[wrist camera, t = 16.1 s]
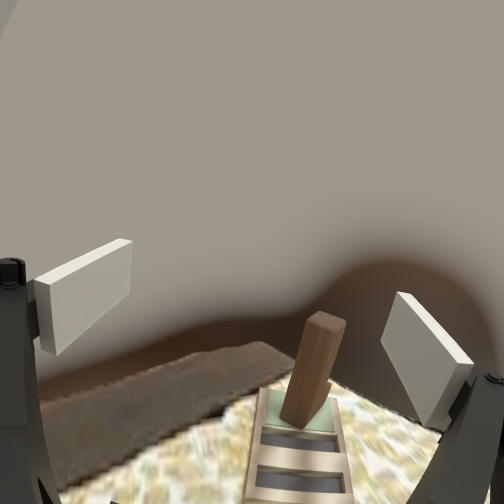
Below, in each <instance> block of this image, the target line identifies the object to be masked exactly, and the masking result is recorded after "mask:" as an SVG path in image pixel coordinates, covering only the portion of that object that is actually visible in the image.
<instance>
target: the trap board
mask: <svg viewBox="0 0 504 504" xmlns="http://www.w3.org/2000/svg"><path fill="white" fill-rule="evenodd" d="M285 395H286V392H285V391H279V390H273V389H267V388H261V387H260V391H259V395H258V402H257V409H256V417H255V424H254V431H253V438H252V445H251V452H250V459H249V466H248V473H247V479H246V486H245V492H244V499H243V504H355V503H354V496H353V490H352V483H351V477H350V470H349V464H348V458H347V452H346V447H345V441H344V435H343V430H342V424H341V419H340V413H339V408H338V403H337V398H330V397H327V399H326V401H325V403H324V404H323V406H322V407H321V408H320V409H319V411H318V412H317V413H316V414H315V415H314V417H313V418H312V419H311V420H310V421H309V423H308V424H307V425H306V426H305V427H304V428H303V429H300V428H298V427H296V426H294V425H292V424H290V423H288V422H286V421H284V420H282V419H280V418H279V415H280V412H281V409H282V405H283V402H284V399H285Z"/></svg>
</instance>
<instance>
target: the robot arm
mask: <svg viewBox="0 0 504 504" xmlns="http://www.w3.org/2000/svg"><path fill="white" fill-rule="evenodd" d="M17 1H18V0H0V42H1V39H2V37H3V34H4V32H5V29H6V27H7V23H8V22H9V20H10V17H11V15H12V13H13V10H14V8H15V6H16V4H17ZM132 246H133V241H129V240H125V239H117V240H115V241H113V242H111V243H108V244H107V245H104V246H102V247H100V248H97V249H95V250H93V251H91V252H89V253H87V254H85V255H82V256H80V257H78V258H76V259H74V260H72V261H70V262H68V263H66V264H64V265H62V266H60V267H57V268H55V269H53V270H51V271H49V272H47V273H45V274H43V275H41V276H39V277H37V278H35V279H33V280H31V281H29V282H27V283H26V271H25V262H24V261H23V260H21V259H18V258H3V259H0V504H62V503H61V501H60V498H59V495H58V492H57V488H56V485H55V481H54V477H53V473H52V469H51V465H50V461H49V456H48V452H47V447H46V442H45V436H44V431H43V425H42V419H41V412H40V405H39V397H38V388H37V378H36V367H35V352H34V351H35V350H34V344H33V340H34V339H35V338H36V337H38V336H39V337H40V343H41V349H42V350H44V351H46V352H49V353H51V354H53V355H55V356H58V355H59V354H60V353H61V352H62V351H63V350H64V349H65V348H67V346H69V345H70V344H71V343H72V342H73V341H74V340H76V338H78V337H79V336H80V335H81V334H82V333H84V332H85V331H86V330H87V329H88V328H89V327H90V326H91V325H93V324H94V323H95V322H96V321H97V320H98V319H100V318H101V317H102V316H103V315H104V314H105V313H107V312H108V311H109V310H110V309H111V308H112V307H114V306H115V305H116V304H117V303H118V302H120V300H122V299H123V298H124V297H125V296H127V295H128V294H129V293H130V277H131V261H132ZM381 343H382V345H383V347H384V348H385V350H386V352H387V354H388V356H389V358H390V360H391V361H392V364H393V366H394V368H395V370H396V372H397V373H398V375H399V377H400V379H401V381H402V383H403V385H404V387H405V389H406V391H407V393H408V395H409V397H410V400H411V402H412V404H413V406H414V408H415V410H416V412H417V414H418V416H419V418H420V420H421V422H422V425H423V427H438V426H441V424H442V423H443V421H444V419H445V418H446V416H447V414H449V416H450V418H451V419H452V421H451V422H450V424H449V426H448V427H447V429H446V430H445V432H444V433H443V435H442V436H441V438H440V439H439V441H438V442H437V443H439V446H438V448H437V450H436V452H435V454H434V456H433V458H432V460H431V461H430V463H429V465H428V467H427V469H426V471H425V472H424V474H423V476H422V478H421V480H420V481H419V483H418V485H417V486H416V488H415V490H414V491H413V493H412V495H411V496H410V498H409V500H408V501H407V503H406V504H484V502H485V499H486V496H487V493H488V489H489V486H490V504H504V378H503V377H502V376H501V375H500V374H498V373H497V372H494V371H491V370H486V369H483V370H480V369H479V368H478V367H477V365H476V364H475V363H474V362H473V361H472V360H471V358H469V356H468V355H467V354H466V353H465V351H464V350H463V349H462V348H461V347H460V346H459V345H458V344H456V342H455V341H454V340H453V339H452V338H451V337H450V336H449V335H448V334H447V332H446V331H445V330H444V329H443V328H442V327H441V326H440V325H439V324H438V323H437V322H436V321H435V319H433V317H432V316H431V315H430V314H429V313H428V312H427V311H426V310H425V309H424V308H423V307H422V306H421V305H420V304H419V303H418V301H417V300H416V299H415V298H414V297H413V296H412V295H411V294H407V293H402V292H397V294H396V297H395V300H394V303H393V306H392V310H391V312H390V315H389V318H388V321H387V324H386V327H385V330H384V333H383V336H382V338H381ZM110 504H118V503H116V502H113V501H111V502H110Z"/></svg>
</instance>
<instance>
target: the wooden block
mask: <svg viewBox="0 0 504 504" xmlns="http://www.w3.org/2000/svg"><path fill="white" fill-rule="evenodd" d="M345 326H346V321H345V320H343V319H340V318H338V317H335V316H332V315H330V314H327V313H324V312H321V311H318V312H317V313H315V314H314V315H313V316H311V317H310V318H308V319H307V321H306V325H305V328H304V332H303V336H302V340H301V343H300V347H299V351H298V355H297V358H296V361H295V365H294V368H293V372H292V375H291V379H290V382H289V385H288V389H287V392H286V395H285V399H284V402H283V405H282V409H281V412H280V415H279V418H280V419H282V420H284V421H286V422H288V423H290V424H292V425H294V426H296V427H298V428H300V429H303V428H304V427H305V426H306V425H307V424H308V423H309V421H310V420H311V419H312V418H313V417H314V415H315V414H316V413H317V412H318V411H319V409H320V408H321V407H322V406H323V404H324V403H325V401H326V399H327V396H328V393H329V391H330V388H331V383H329V382H327V381H328V378H329V375H330V372H331V369H332V366H333V363H334V360H335V357H336V354H337V351H338V348H339V345H340V342H341V339H342V336H343V333H344V329H345Z"/></svg>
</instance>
